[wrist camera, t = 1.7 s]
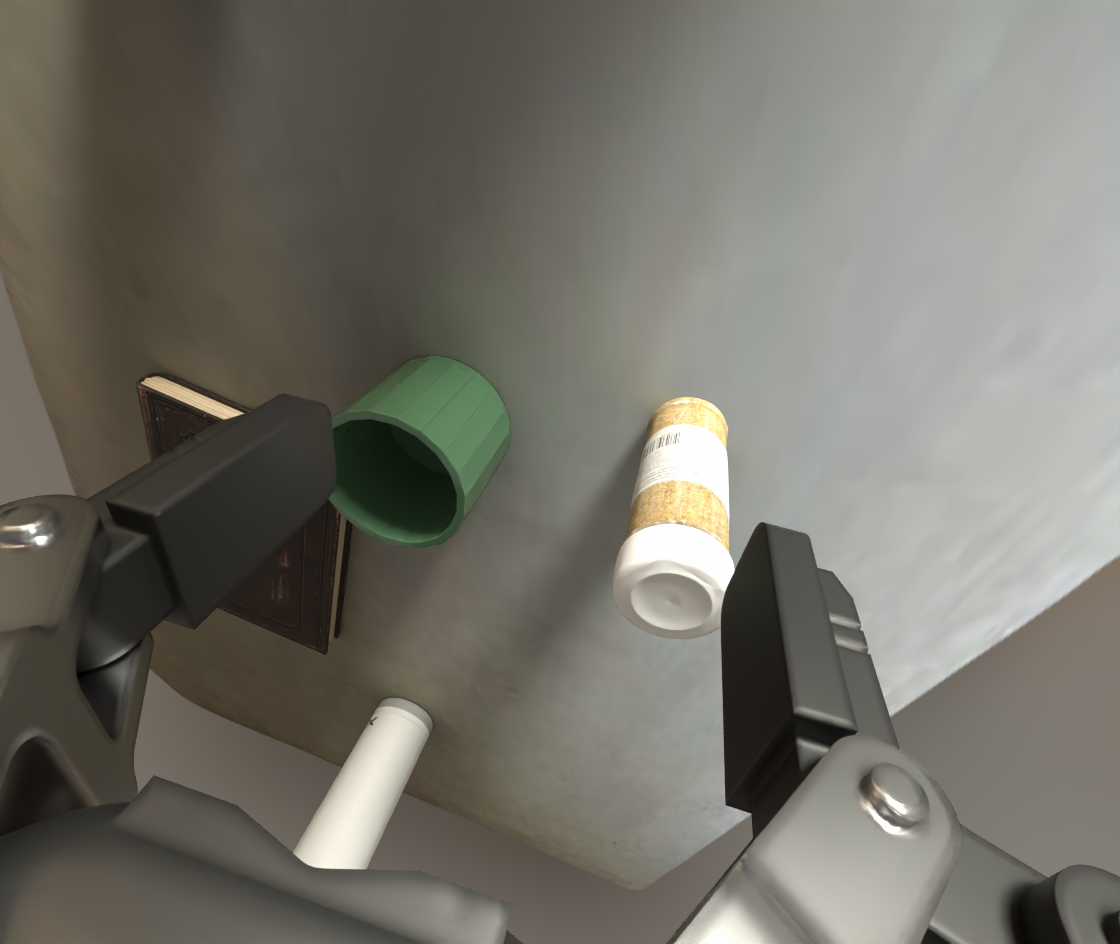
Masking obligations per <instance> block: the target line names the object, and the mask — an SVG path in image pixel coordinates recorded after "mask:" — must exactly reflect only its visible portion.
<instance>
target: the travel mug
mask: <svg viewBox="0 0 1120 944" xmlns="http://www.w3.org/2000/svg"><path fill="white" fill-rule="evenodd" d="M432 728H433V723H432V720H431V718H430V716H429V715H428V714H427V713H426V712H425V711H424V710H423V709H422V708H421V707H419V706H418V705H416V704H414V703H412V702H410V701H408V700H405V699H401V698H387V699H384V700H382V701H381V702H380V703H379V705H378V707H377V708H376V710H375V712H374V714H373V716H372V717H371V719H370V721H369V722H368V724H367V726H366V727H365V729H364V731H363V733H362V734H361V736H360V738H359V740H358V741H357V743H356V745H355V746H354V748H353V750H352V752H351V753H350V755H349V757H348V758H347V760H346V762H345V764H344V765H343V767H342V769H341V771H340V772H339V774H338V776H337V778H336V779H335V781H334V783H333V784H332V786H331V788H330V790H329V791H328V793H327V795H326V796H325V798H324V800H323V802H322V803H321V805H320V807H319V808H318V810H317V812H316V814H315V815H314V817H313V819H312V821H311V823H310V824H309V826H308V828H307V829H306V831H305V833H304V834H303V836H302V838H301V839H300V841H299V843H298V845H297V846H296V848H295V850H294V851H293V854H295V855H296V856H297V857H298V858H299V859H300V860H302V861H303V862H304V863H306V864H307V865H310V866H312V867H316V868H330V869H366V868H367V866H368V864H369V862H370V859H371V858H372V855H373V853H374V851H375V849H376V847H377V844H378V843H379V841H380V838H381V836H382V834H383V832H384V830H385V828H386V826H387V824H388V821H389V819H390V817H391V815H392V813H393V811H394V809H395V807H396V804H397V802H398V800H399V798H400V796H401V794H402V792H403V790H404V787H405V785H406V783H407V781H408V779H409V777H410V775H411V773H412V770H413V768H414V766H415V764H416V762H417V760H418V758H419V756H420V753H421V751H422V749H423V747H424V745H425V743H426V741H427V739H428V736H429V734H430V732H431V730H432Z"/></svg>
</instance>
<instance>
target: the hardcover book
mask: <svg viewBox="0 0 1120 944" xmlns="http://www.w3.org/2000/svg"><path fill="white" fill-rule="evenodd" d="M136 387H137V392H138V397H139V402H140V407H141V412H142V418H143V423H144V428H145V433H146V438H147V443H148V448H149V454H150V459H151V461H153V460H154V459H156V458H158V457H159V456H161V455H163V454H165V453H166V452H168V451H169V452H173V450H174V448H175V447H176V446H178V445H180V444H181V443H183V442H185V441H187V440H188V439H192V440H193V439H194V436H195V435H197V434H198V433H200V432H202V431H204V430H205V429H207V428H209V427H210V426H212V425H214V424H215V423H217V422H219V421H222V420H225V419H228V418H231V417H235V416H238V415H241V414H244V413H247V412H251V410H249V409H246V408H244V407H242V406H239V405H237V404H235V403H233V402H230V401H228V400H226V399H223V398H221V397H219V396H216V395H214V394H212V393H210V392H207V391H205V390H203V389H200V388H198V387H196V386H193V385H191V384H189V383H187V382H184V381H182V380H180V379H177V378H175V377H173V376H170V375H168V374H166V373H151V374H149V375H146V376H144V377H142V378H140V379H138V380H137V381H136ZM351 532H352V523H351V522H349V521H348V520H347V519H346V518H345V517H343V516H342V514H340V513H339V512H338V510H337V509H336V508H335V507H334V505H333V504H332V503H331V502H330V501H329V499H328V500H327V502H326V503H325V504H324V505H323V506H322V507H321V508H320V509H319V510H318V511H317V512H316V513H315V514H314V515H313V516H312V517H311V518H309V519H308V520H307V521H306V522H305V523H304V524H303V525H302V526H301V527H300V528H299V529H298V530H297V531H296V532H295V533H294V534H293V535H292V536H291V537H290V538H289V539H288V540H287V541H286V542H285V543H284V544H283V545H282V546H280V547H279V548H278V549H277V550H276V551H275V552H274V553H273V554H272V555H271V556H270V557H269V558H268V559H267V560H266V561H265V562H264V563H263V564H262V565H261V566H260V567H259V568H258V569H257V570H256V571H255V572H254V573H253V574H252V575H250V576H249V577H248V578H247V579H246V580H245V581H244V582H243V583H242V584H241V585H240V586H239V587H238V588H237V589H236V590H235V591H234V592H233V593H232V594H231V595H230V596H229V597H228V598H227V599H226V600H225V601H224V602H223V603H222V604H220V605H219V606H218V607H217V608H219V609H222V610H224V611H226V612H228V613H231V614H233V615H235V616H238V617H240V618H242V619H244V620H247V621H249V622H251V623H253V624H256V625H258V626H260V627H263V628H265V629H267V630H269V631H272V632H274V633H276V634H279V635H281V636H283V637H285V638H288V639H290V640H292V641H294V642H297V643H299V644H301V645H304V646H306V647H308V648H310V649H313V650H315V651H317V652H319V653H322V654H324V655H326V654H327V653H328V643H329V642H330V641H331V639H332V638H333V637H335V638H337V639H338V638H339V634H340V625H341V617H342V608H343V600H344V591H345V583H346V574H347V566H348V557H349V549H350V540H351Z"/></svg>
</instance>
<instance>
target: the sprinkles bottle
mask: <svg viewBox="0 0 1120 944" xmlns="http://www.w3.org/2000/svg"><path fill="white" fill-rule="evenodd" d="M727 435H728V427H727V424H726V421H725V418H724V417H723V415H722V413H721V412H720V411H719V410H718V409H717V408H716V407H715V406H714V405H713V404H711V403H709V402H707V401H705V400H701V399H698V398H690V397H682V398H678V399H674V400H671V401H669V402H667V403H665V404H663V405H662V406H660V408H658V409H657V410H656V411H655V412H654V414H653V415H652V417H651V420H650V422H649V423H648V428H647V443H646V445H645V447H644V450H643V453H642V458H641V462H640V467H639V471H638V475H637V480H636V484H635V489H634V493H633V498H632V502H631V507H630V513H631V515H630V521H629V525H628V530H627V535H626V539H625V541H624V543H623V545H622V547H621V548H620V550H619V553H618V556H617V561H616V565H615V570H614V576H613V582H612V594H613V598H614V601H615V604H616V606H617V608H618V609H619V611H620V612H621V613H622V615H623V616H624V617H625V618H626V619H627V620H628V621H629V622H631V623H632V624H633V625H635V626H636V627H638V628H640V629H641V630H643V631H645V632H648V633H650V634H653V635H656V636H660V637H664V638H671V639H691V638H696V637H701V636H704V635H707V634H709V633H712V632H713V631H715V630H717V629H718V628H720V627H721V608H722V603H723V598H724V594H725V591H726V588H727V585H728V583H729V581H730V579H731V577H732V575H733V573H734V565H733V562H732V559H731V557H730V555H729V537H728V534H729V530H728V529H729V486H728V458H727V453H726V441H727Z"/></svg>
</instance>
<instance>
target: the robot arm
mask: <svg viewBox="0 0 1120 944" xmlns="http://www.w3.org/2000/svg"><path fill="white" fill-rule="evenodd" d="M336 478H337V469H336V459H335V449H334V439H333V429H332V419H331V413H330V410H329V408H328V407H327V406H326V405H325V404H323V403H319V402H316V401H312V400H308V399H304V398H301V397H297V396H293V395H289V394H280V395H278V396H276V397H274V398H272V399H271V400H269V401H267V402H266V403H264V404H263V405H261V406H259V407H258V408H256V409H254V410H253V411H251V412H247V413H244V414H241V415H238V416H235V417H231V418H228V419H225V420H222V421H219V422H217V423H215V424H214V425H212V426H210V427H209V428H207V429H205V430H204V431H202V432H200V433H198V434H197V435H195V436H194V439H193V440H192V439H188V440H187V441H185V442H183V443H181V444H180V445H178V446H176V447H175V448H174V450H173V452H169V451H168V452H166V453H165V454H163V455H161V456H159V457H158V458H156V459H154V460H153V461H151V462H149V463H148V464H146V465H144V466H142V467H141V468H139V469H137V470H136V471H134V472H132V473H131V474H129V475H127V476H125V477H124V478H122V479H120V480H119V481H117V482H115V483H114V484H112V485H110V486H108V487H107V488H105V489H103V490H102V491H100V492H98V493H97V494H95V495H93V496H92V497H90V498H88V499H84V498H81V497H78V496H72V495H58V494H55V495H42V496H35V497H30V498H25V499H21V500H17V501H14V502H10V503H7V504H4V505H1V506H0V944H523V943H522V942H521V941H520V940H518V939H517V938H516V937H515V936H514V935H512V934H511V933H510V932H509V931H507V927H508V923H509V919H510V915H511V911H512V907H513V904H510V903H507V902H505V901H502V900H499V899H496V898H493V897H491V896H488V895H485V894H482V893H479V892H477V891H474V890H471V889H468V888H466V887H463V886H460V885H457V884H455V883H452V882H449V881H446V880H443V879H440V878H438V877H435V876H432V875H430V874H427V873H424V872H421V871H402V870H401V871H400V870H366V869H330V868H316V867H312V866H310V865H307V864H306V863H304V862H303V861H302V860H300V859H299V858H298V857H297V856H296V855H295V854H293V853H292V852H291V851H290V850H289V849H287V848H286V847H285V846H284V845H283V844H282V843H281V842H279V841H278V840H277V839H276V838H275V837H274V836H272V835H271V834H270V833H269V832H268V831H267V830H265V829H264V828H263V827H262V826H261V825H260V824H258V823H257V822H256V821H255V820H254V819H253V818H251V817H250V816H249V815H248V814H247V813H246V812H244V811H243V810H242V809H241V808H240V807H238V806H237V805H235V804H232V803H229V802H227V801H224V800H221V799H218V798H215V797H212V796H210V795H207V794H204V793H202V792H198V791H196V790H193V789H190V788H188V787H185V786H182V785H179V784H177V783H173V782H171V781H168V780H165V779H163V778H160V777H157V776H153V777H152V778H151V779H150V781H149V782H148V783H147V784H146V785H145V787H144V788H143V789H142V790H141V791H140V792H139V793H138V788H137V782H136V776H135V771H134V749H135V743H136V738H137V732H138V726H139V721H140V715H141V710H142V705H143V700H144V695H145V689H146V684H147V678H148V673H149V668H150V662H151V657H152V652H153V644H154V641H153V637H152V634H151V632H150V631H152V630H153V629H154V628H155V627H156V626H157V625H158V624H159V623H161V622H162V621H163V620H166V621H169V622H172V623H175V624H178V625H181V626H184V627H187V628H190V629H193V630H195V629H196V628H197V627H198V626H199V625H200V624H201V623H202V622H203V621H204V620H205V619H206V618H207V617H208V616H209V615H210V614H211V613H212V612H213V611H214V610H215V609H216V608H217V607H218V606H219V605H220V604H222V603H223V602H224V601H225V600H226V599H227V598H228V597H229V596H230V595H231V594H232V593H233V592H234V591H235V590H236V589H237V588H238V587H239V586H240V585H241V584H242V583H243V582H244V581H245V580H246V579H247V578H248V577H249V576H250V575H252V574H253V573H254V572H255V571H256V570H257V569H258V568H259V567H260V566H261V565H262V564H263V563H264V562H265V561H266V560H267V559H268V558H269V557H270V556H271V555H272V554H273V553H274V552H275V551H276V550H277V549H278V548H279V547H280V546H282V545H283V544H284V543H285V542H286V541H287V540H288V539H289V538H290V537H291V536H292V535H293V534H294V533H295V532H296V531H297V530H298V529H299V528H300V527H301V526H302V525H303V524H304V523H305V522H306V521H307V520H308V519H309V518H311V517H312V516H313V515H314V514H315V513H316V512H317V511H318V510H319V509H320V508H321V507H322V506H323V505H324V504H325V503H326V502H327V500H328V499H329V497H330V496H331V494H332V492H333V489H334V487H335V483H336ZM860 627H861V623H860V620H859V617H858V614H857V610H856V607H855V604H854V601H853V598H852V597H851V595H850V594H849V593H848V592H847V590H846V589H845V588H844V586H843V585H842V584H841V582H840V581H839V580H838V578H837V577H836V576H835V574H834V573H833V572H831V571H827V570H824V569H820V568H817V565H816V561H815V557H814V553H813V549H812V545H811V541H810V538H809V536H808V535H807V534H805V533H801V532H797V531H794V530H790V529H786V528H782V527H779V526H775V525H771V524H767V523H764V522H761V523H759V524H758V525H757V527H756V528H755V530H754V532H753V534H752V536H751V538H750V540H749V542H748V544H747V546H746V548H745V550H744V552H743V554H742V556H741V558H740V560H739V563H738V565H737V567H736V569H735V571H734V573H733V575H732V577H731V579H730V581H729V583H728V585H727V588H726V591H725V594H724V598H723V603H722V608H721V651H722V689H723V726H724V764H725V801H726V805H727V806H730V807H733V808H736V809H739V810H742V811H745V812H749V813H752V828H753V839H752V840H751V841H750V842H749V843H748V844H747V845H746V847H745V848H744V849H743V850H742V852H741V853H740V854H739V855H738V856H737V858H736V859H735V860H734V861H733V863H732V864H731V865H730V866H729V868H728V869H727V870H726V871H725V872H724V874H723V875H722V876H721V878H719V880H718V881H717V882H716V883H715V885H714V886H713V887H712V888H711V890H710V891H709V892H708V893H707V894H706V896H705V897H704V898H703V899H702V901H701V902H700V903H699V904H698V905H697V907H696V908H695V909H694V910H693V912H692V913H691V914H690V915H689V916H688V918H687V919H686V920H685V921H684V922H683V924H682V925H681V926H680V927H679V929H678V930H677V931H676V932H675V933H674V935H673V936H672V937H671V938H670V940H669V941H668V942H667V943H666V944H1120V877H1119V876H1117V875H1115V874H1112V873H1110V872H1108V871H1105V870H1103V869H1100V868H1096V867H1093V866H1088V865H1072V866H1069V867H1067V868H1065V869H1063V870H1061V871H1060V872H1058V873H1056V874H1054V875H1052V876H1051V877H1049V878H1047V877H1046V876H1044V875H1043V874H1041V873H1039V872H1038V871H1036V870H1034V869H1033V868H1031V867H1029V866H1028V865H1026V864H1024V863H1023V862H1021V861H1019V860H1018V859H1016V858H1015V857H1013V856H1011V855H1009V854H1008V853H1006V852H1005V851H1003V850H1001V849H1000V848H998V847H996V846H995V845H993V844H991V843H989V842H988V841H987V840H985V839H983V838H981V837H980V836H978V835H977V834H975V833H974V832H972V831H971V830H969V829H968V828H966V827H965V826H963V825H962V824H960V823H959V820H958V817H957V814H956V812H955V810H954V808H953V806H952V804H951V802H950V801H949V799H948V797H947V796H946V794H945V793H944V791H943V790H942V789H941V787H940V786H939V785H938V783H937V782H936V781H935V779H933V777H932V776H931V775H930V774H929V773H928V772H927V771H926V770H925V769H924V768H923V767H922V766H921V765H920V764H919V763H918V762H916V761H915V760H914V759H913V758H911V757H910V756H909V755H907V754H906V753H904V752H903V751H901V750H900V748H899V745H898V742H897V739H896V735H895V732H894V729H893V726H892V723H891V719H890V716H889V713H888V710H887V707H886V703H885V700H884V697H883V694H882V690H881V687H880V684H879V681H878V678H877V674H876V671H875V668H874V665H873V662H872V658H871V655H870V654H867V651H868V646H867V642H866V639H865V636H864V633H863V631H861V630H860Z"/></svg>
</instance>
